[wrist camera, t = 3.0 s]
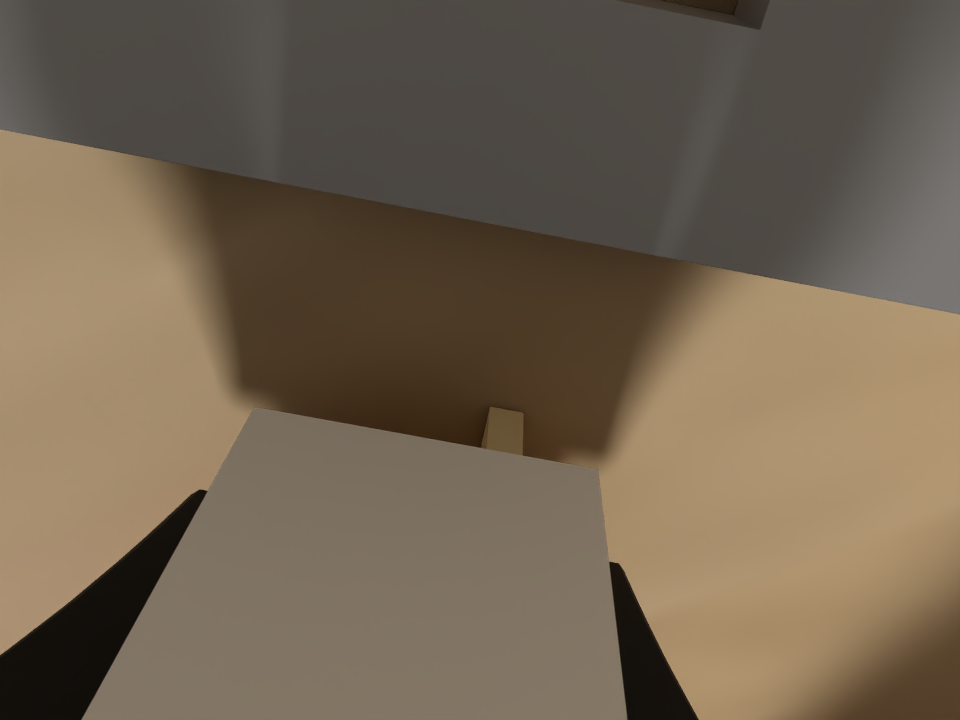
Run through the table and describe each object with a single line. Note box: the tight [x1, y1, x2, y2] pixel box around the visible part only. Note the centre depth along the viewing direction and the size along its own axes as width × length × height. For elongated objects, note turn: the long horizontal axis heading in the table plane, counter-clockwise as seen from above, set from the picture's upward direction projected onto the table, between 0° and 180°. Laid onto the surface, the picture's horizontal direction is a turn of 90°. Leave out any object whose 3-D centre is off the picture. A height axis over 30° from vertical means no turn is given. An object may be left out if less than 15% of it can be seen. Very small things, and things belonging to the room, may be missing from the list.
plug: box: [82, 407, 627, 720], centre depth 10 cm, size 4×4×7 cm
